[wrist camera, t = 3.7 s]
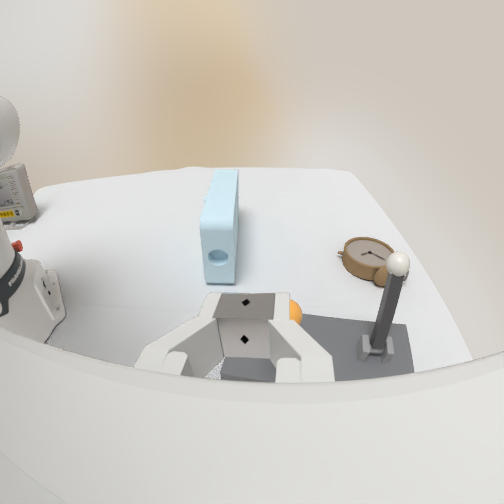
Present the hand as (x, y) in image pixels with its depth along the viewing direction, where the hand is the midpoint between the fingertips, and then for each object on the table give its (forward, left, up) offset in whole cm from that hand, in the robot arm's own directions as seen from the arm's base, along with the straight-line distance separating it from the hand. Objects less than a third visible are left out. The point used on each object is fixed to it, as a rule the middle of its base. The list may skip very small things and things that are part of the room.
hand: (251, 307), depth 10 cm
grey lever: (0, +16, -17) cm, 24 cm away
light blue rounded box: (-37, +14, -27) cm, 48 cm away
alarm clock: (-17, +38, -27) cm, 50 cm away
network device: (-85, -46, -26) cm, 100 cm away
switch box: (-4, +12, -26) cm, 29 cm away
